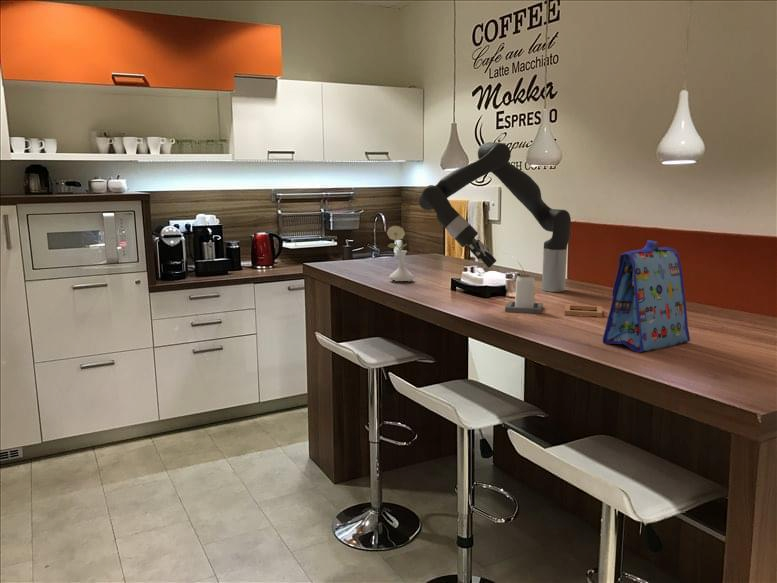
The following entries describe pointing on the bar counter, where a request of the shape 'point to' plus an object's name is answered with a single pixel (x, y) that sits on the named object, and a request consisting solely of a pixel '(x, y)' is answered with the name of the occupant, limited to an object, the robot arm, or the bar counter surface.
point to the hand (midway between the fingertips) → (492, 264)
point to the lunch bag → (648, 300)
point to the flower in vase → (401, 272)
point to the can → (525, 291)
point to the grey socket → (510, 308)
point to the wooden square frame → (583, 313)
